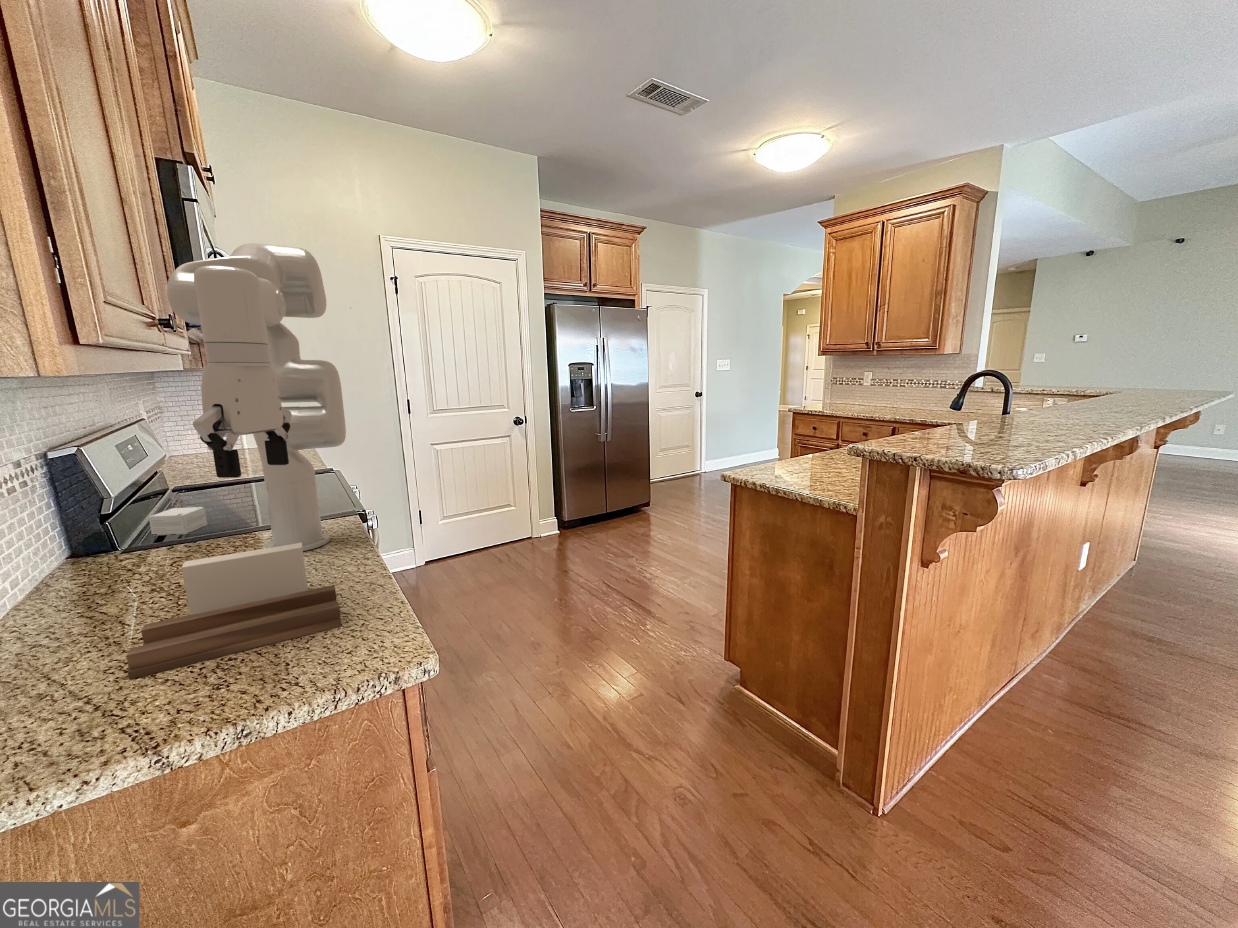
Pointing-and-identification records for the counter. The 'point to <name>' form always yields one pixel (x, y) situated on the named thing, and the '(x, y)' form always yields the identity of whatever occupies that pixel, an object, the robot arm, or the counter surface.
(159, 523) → the small box
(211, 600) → the white rectangular slab
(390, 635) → the counter surface
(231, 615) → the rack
